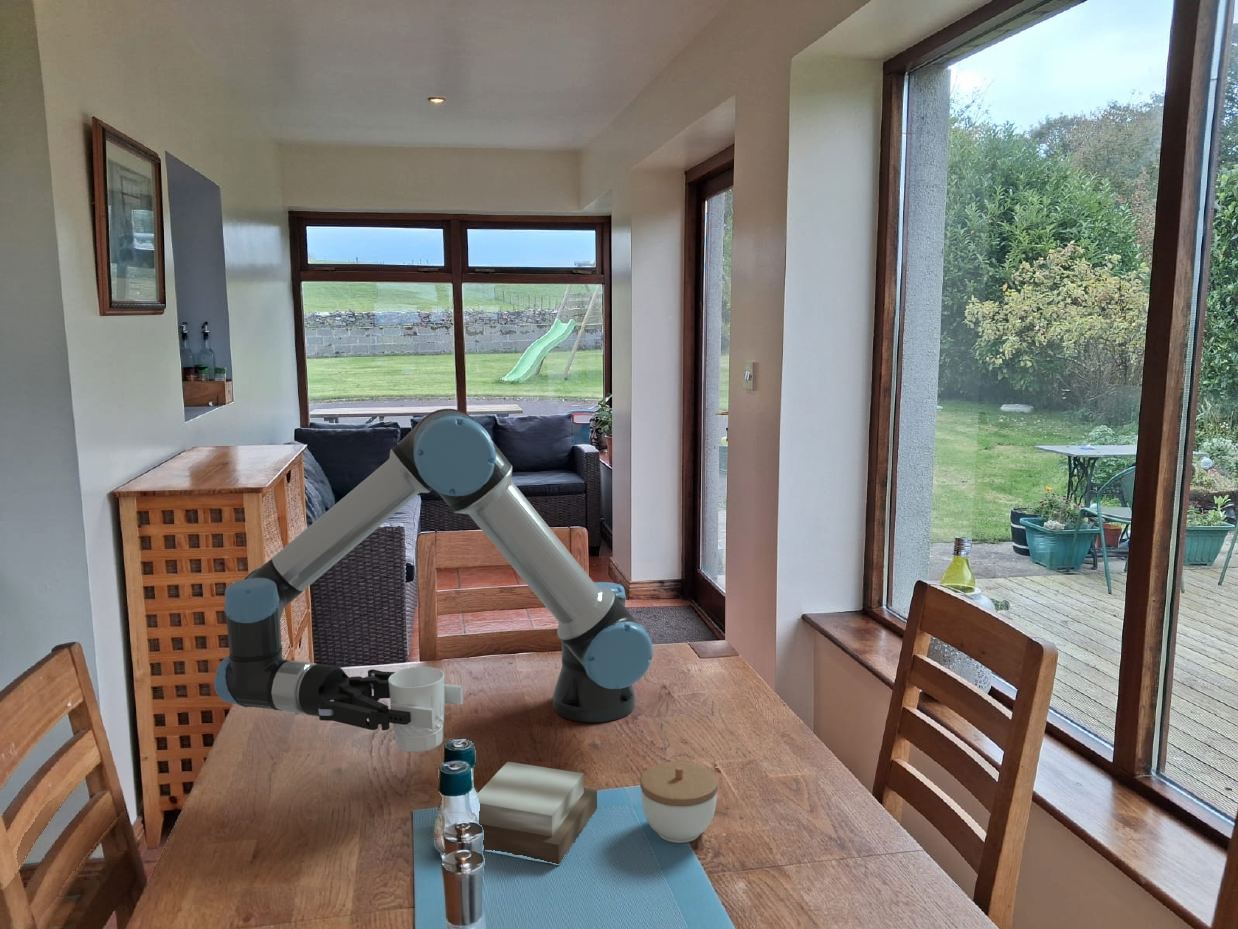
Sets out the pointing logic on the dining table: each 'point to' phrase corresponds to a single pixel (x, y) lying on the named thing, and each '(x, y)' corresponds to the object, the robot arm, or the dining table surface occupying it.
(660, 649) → the dining table surface
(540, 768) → the block stand
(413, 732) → the white cup
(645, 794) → the lidded jar
